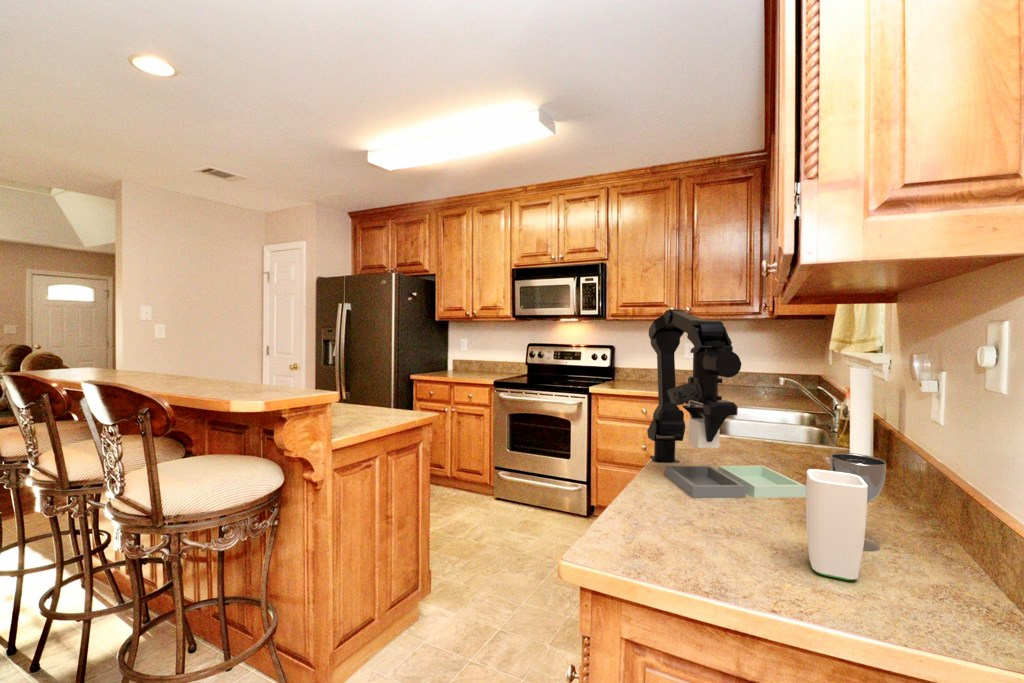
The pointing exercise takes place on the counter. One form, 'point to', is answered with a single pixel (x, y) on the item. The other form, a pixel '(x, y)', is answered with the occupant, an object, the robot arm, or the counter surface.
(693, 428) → the stone block
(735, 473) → the bin
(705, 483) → the bin
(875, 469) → the wine glass
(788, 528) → the counter surface
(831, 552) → the cup
